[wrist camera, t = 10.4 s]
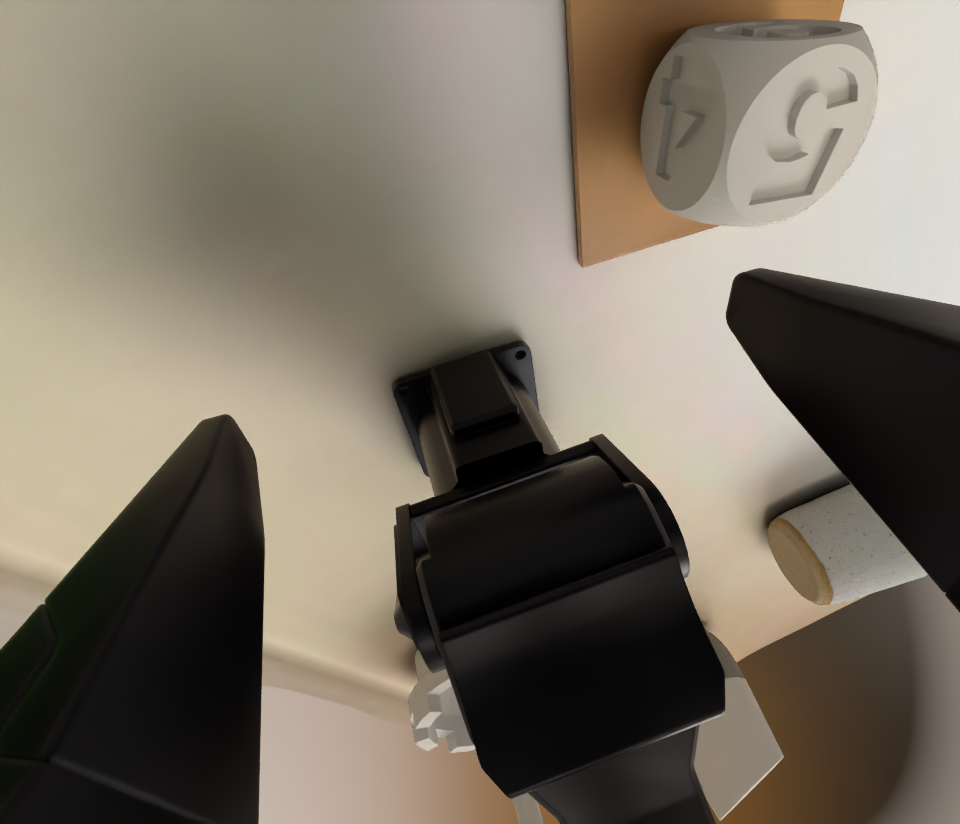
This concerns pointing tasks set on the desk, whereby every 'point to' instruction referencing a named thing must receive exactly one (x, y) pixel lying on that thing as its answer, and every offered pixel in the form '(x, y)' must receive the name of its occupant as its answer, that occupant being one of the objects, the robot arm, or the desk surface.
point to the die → (756, 118)
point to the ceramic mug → (839, 549)
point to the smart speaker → (734, 742)
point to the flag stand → (450, 726)
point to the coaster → (635, 108)
